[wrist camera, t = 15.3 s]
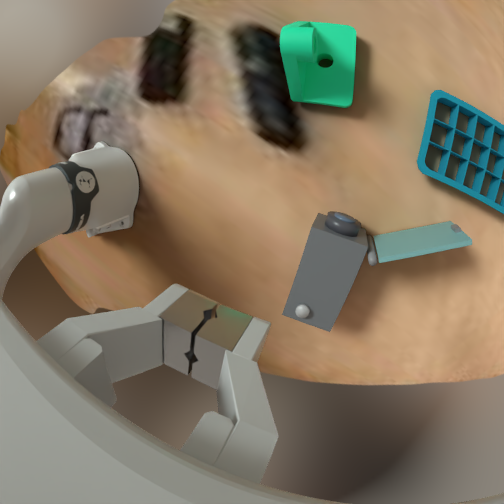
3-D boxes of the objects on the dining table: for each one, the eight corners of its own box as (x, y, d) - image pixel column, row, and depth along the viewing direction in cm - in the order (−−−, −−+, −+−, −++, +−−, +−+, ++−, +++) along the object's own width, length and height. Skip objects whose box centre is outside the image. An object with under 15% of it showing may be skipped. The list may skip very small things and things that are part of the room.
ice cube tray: (426, 90, 25) (432, 86, 23) (530, 151, 21) (540, 152, 18) (410, 168, 30) (415, 170, 28) (513, 220, 26) (522, 225, 23)
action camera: (321, 201, 36) (314, 214, 29) (369, 218, 34) (374, 236, 28) (293, 290, 42) (280, 317, 36) (334, 305, 41) (329, 335, 34)
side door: (366, 242, 36) (369, 266, 29) (364, 233, 35) (367, 255, 28) (450, 226, 30) (472, 246, 23) (449, 217, 30) (471, 235, 23)
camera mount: (351, 110, 30) (352, 95, 21) (295, 102, 32) (275, 86, 23) (356, 34, 25) (356, -1, 16) (301, 28, 27) (284, -5, 18)
